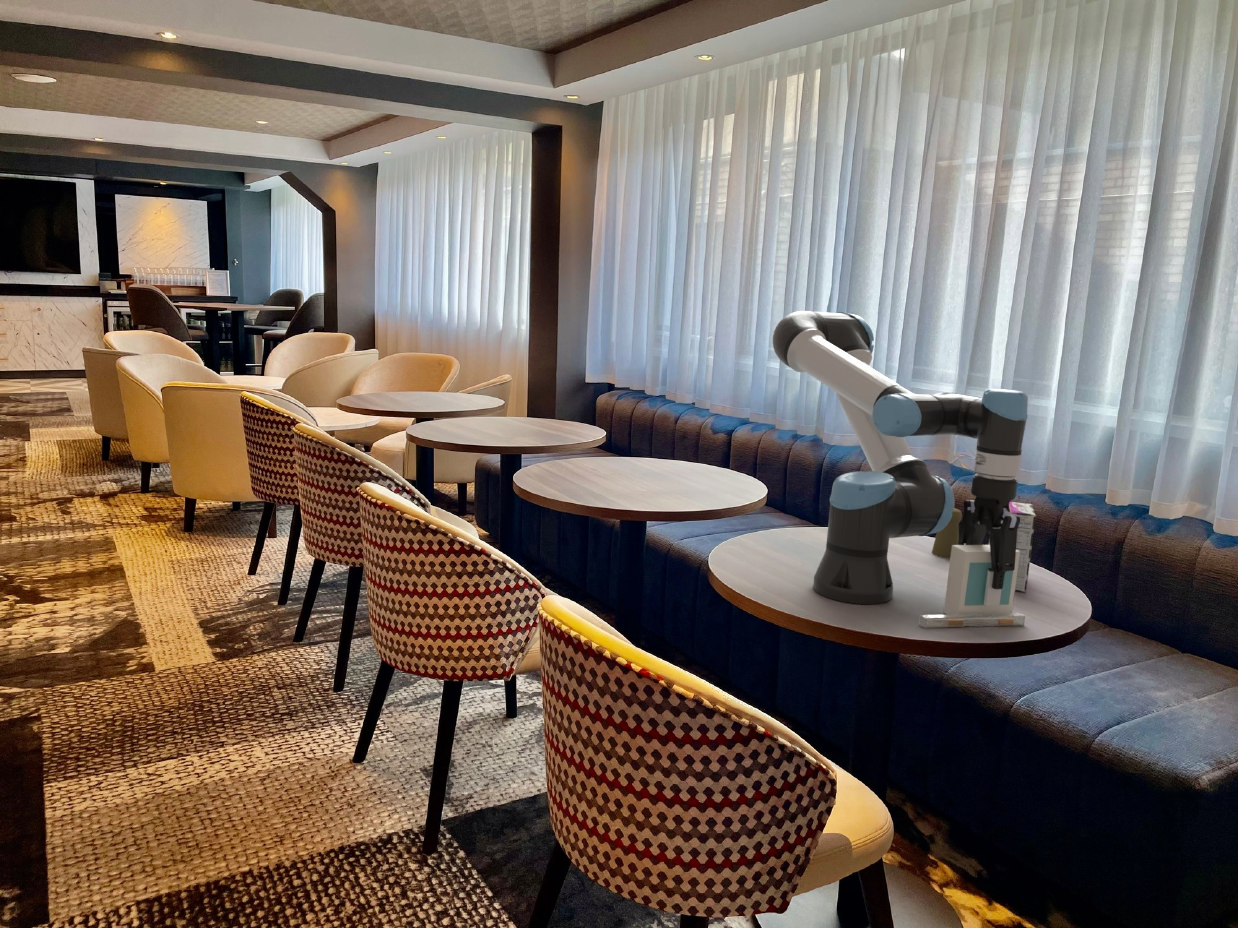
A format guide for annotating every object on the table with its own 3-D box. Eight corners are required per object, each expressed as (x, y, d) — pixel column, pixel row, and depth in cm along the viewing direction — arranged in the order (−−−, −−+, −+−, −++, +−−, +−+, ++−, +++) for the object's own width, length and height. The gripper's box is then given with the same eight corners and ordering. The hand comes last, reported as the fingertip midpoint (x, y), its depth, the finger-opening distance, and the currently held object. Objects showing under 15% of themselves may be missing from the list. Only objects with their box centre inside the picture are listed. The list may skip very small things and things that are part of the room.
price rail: (924, 628, 159) (925, 618, 158) (919, 624, 161) (920, 614, 160) (1025, 626, 163) (1026, 616, 162) (1018, 622, 165) (1020, 613, 164)
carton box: (943, 612, 168) (951, 545, 166) (995, 611, 171) (1004, 544, 168) (957, 621, 164) (966, 552, 161) (1011, 619, 166) (1020, 551, 164)
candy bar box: (997, 574, 195) (1007, 500, 192) (1022, 578, 193) (1032, 503, 190) (999, 589, 185) (1010, 511, 182) (1026, 593, 183) (1037, 514, 180)
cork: (929, 549, 213) (934, 504, 211) (955, 551, 212) (961, 506, 210) (934, 556, 207) (940, 509, 205) (961, 558, 206) (967, 512, 204)
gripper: (946, 465, 171) (932, 581, 175) (1010, 486, 152) (993, 616, 156) (982, 465, 173) (967, 581, 177) (1049, 487, 154) (1031, 616, 158)
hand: (979, 597), depth 166 cm, fingers open, 7 cm apart
